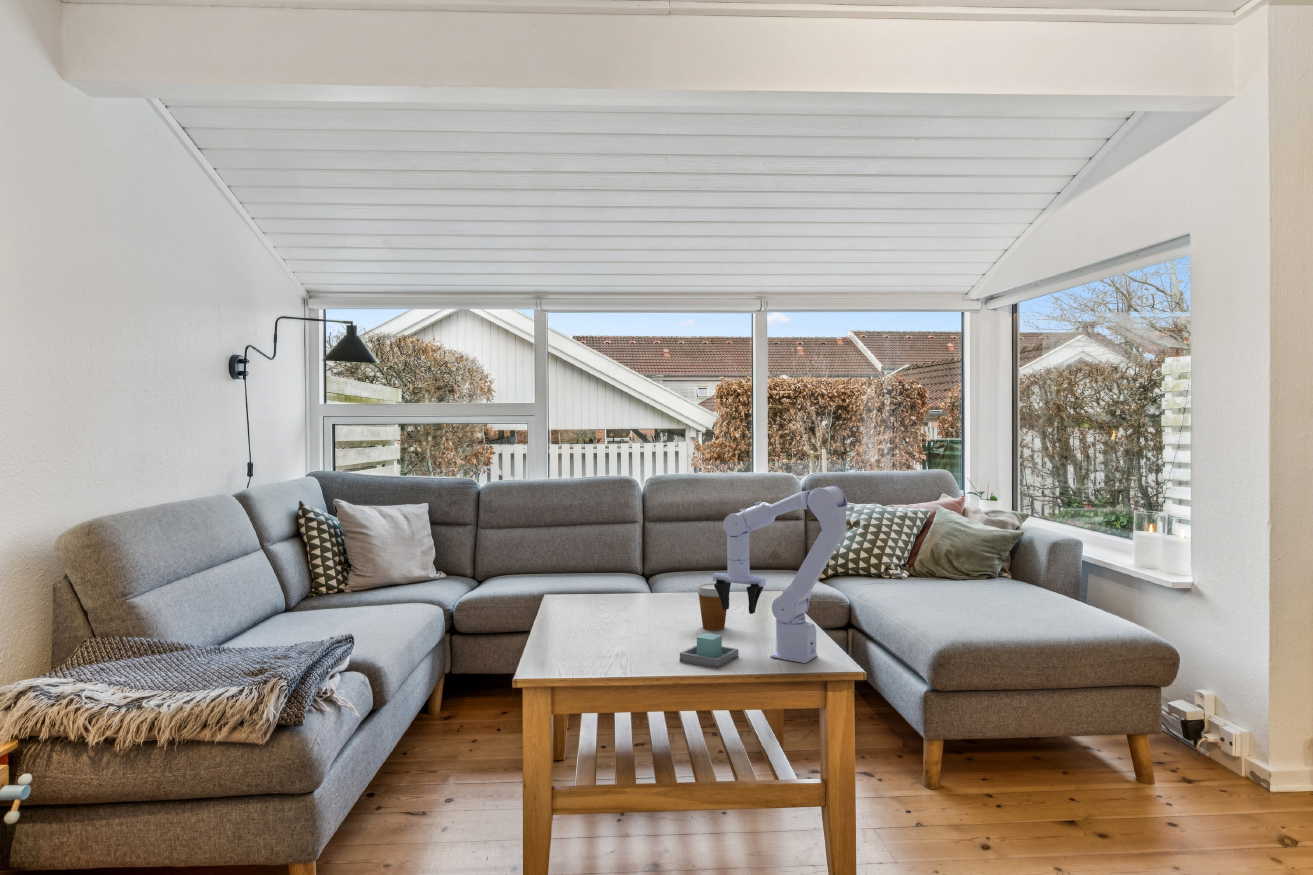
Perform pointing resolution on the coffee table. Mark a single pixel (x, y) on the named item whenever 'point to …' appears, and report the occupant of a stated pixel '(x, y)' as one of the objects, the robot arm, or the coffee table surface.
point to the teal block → (709, 645)
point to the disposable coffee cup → (711, 607)
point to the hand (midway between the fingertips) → (738, 611)
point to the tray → (693, 658)
